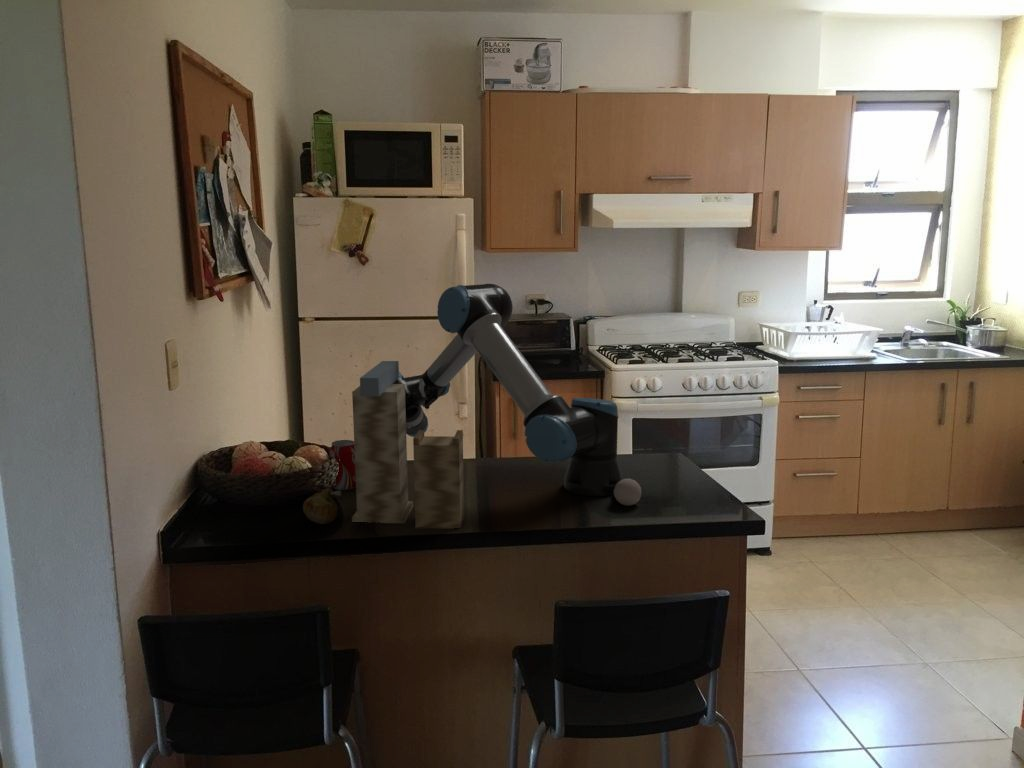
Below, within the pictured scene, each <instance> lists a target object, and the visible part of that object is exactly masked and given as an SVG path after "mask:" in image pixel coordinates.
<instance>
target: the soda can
mask: <svg viewBox="0 0 1024 768" xmlns="http://www.w3.org/2000/svg"><path fill="white" fill-rule="evenodd" d="M330 457H332V458H335V459H336V460H337V462H338V463H339V472H338V475H337V477H336V479H335V481H334V482H333V483H332V485H331V484H330V485H331V487H332V488H333V489H335V490H336V491H341V492H344V491H345V492H346V491H351V490H354V489H356V474H355V449H354V440H349V439H339V440H334V441H332V442H331V446H330V449H329V458H330ZM339 459H340V461H339Z"/></svg>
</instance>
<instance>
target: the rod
mask: <svg viewBox="0 0 1024 768" xmlns="http://www.w3.org/2000/svg"><path fill="white" fill-rule="evenodd" d="M399 364H400V363H399V361H398V360H382V361H380V362H379V363H378V364H376V365H375V366H373V367H372V368H371V369H370V370H368V371H367V372H365V374H363V375H361V376H360V377H359V386H360V395H361V396H380V395H381V394H382V393H383V392H384V391H385V390H386V389H387V388H388V387H389V386H390V385H391V384H393V383H394V382H395V381H396V380H397V379H398V378H399V372H400V365H399Z"/></svg>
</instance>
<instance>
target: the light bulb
mask: <svg viewBox="0 0 1024 768" xmlns="http://www.w3.org/2000/svg"><path fill="white" fill-rule="evenodd" d="M613 493H614V494H613V495H614V498H615V500H616V501H617V502H618V503H619V504H620V505H623V506H626V507H627V506H628V507H629V506H633V505H635V504H637V503H638V502H639V501H640V500H641V497H642V487H641V486H640V484H639V482H637V481H636V480H635V479H632V478H623V480H621V481H619V482H618V483H617V484H616V486H615V488H614V490H613Z"/></svg>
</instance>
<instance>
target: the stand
mask: <svg viewBox="0 0 1024 768" xmlns="http://www.w3.org/2000/svg"><path fill="white" fill-rule="evenodd" d="M351 394H352V421H353V441H354V449H355V474H356V487H355V494H356V495H355V497H356V511H355V513H354V514H353V515H352V517H351V523H352V522H366V523H365V524H370V523H371V524H405V523H406V521H407V519H408V517H409V515H410V513H411V512H412V509H413V507H414V501H413V500H412V501H411V500H410V501H409V487H408V486H409V485H408V482H409V481H408V456H407V455H408V450H407V444H408V443H407V434H406V408H405V384H391V385H390V386H389V387H388V388H387V389H386V390H385V391H384V392H383V393H382V394H381V395H380V396H361V395H360V385H359V386H357V387H356V388H355V389H354V390H352V392H351ZM367 522H368V523H367ZM372 522H374V523H372ZM375 522H376V523H375ZM378 522H379V523H378Z"/></svg>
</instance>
